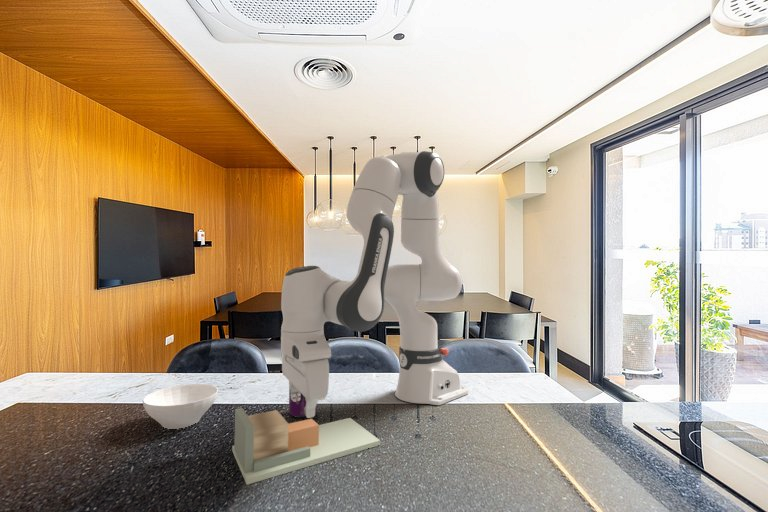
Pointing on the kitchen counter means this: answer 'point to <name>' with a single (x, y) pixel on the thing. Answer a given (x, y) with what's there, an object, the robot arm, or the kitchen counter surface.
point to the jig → (332, 444)
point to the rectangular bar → (303, 434)
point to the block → (269, 434)
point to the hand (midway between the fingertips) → (302, 407)
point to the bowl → (180, 404)
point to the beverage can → (297, 406)
